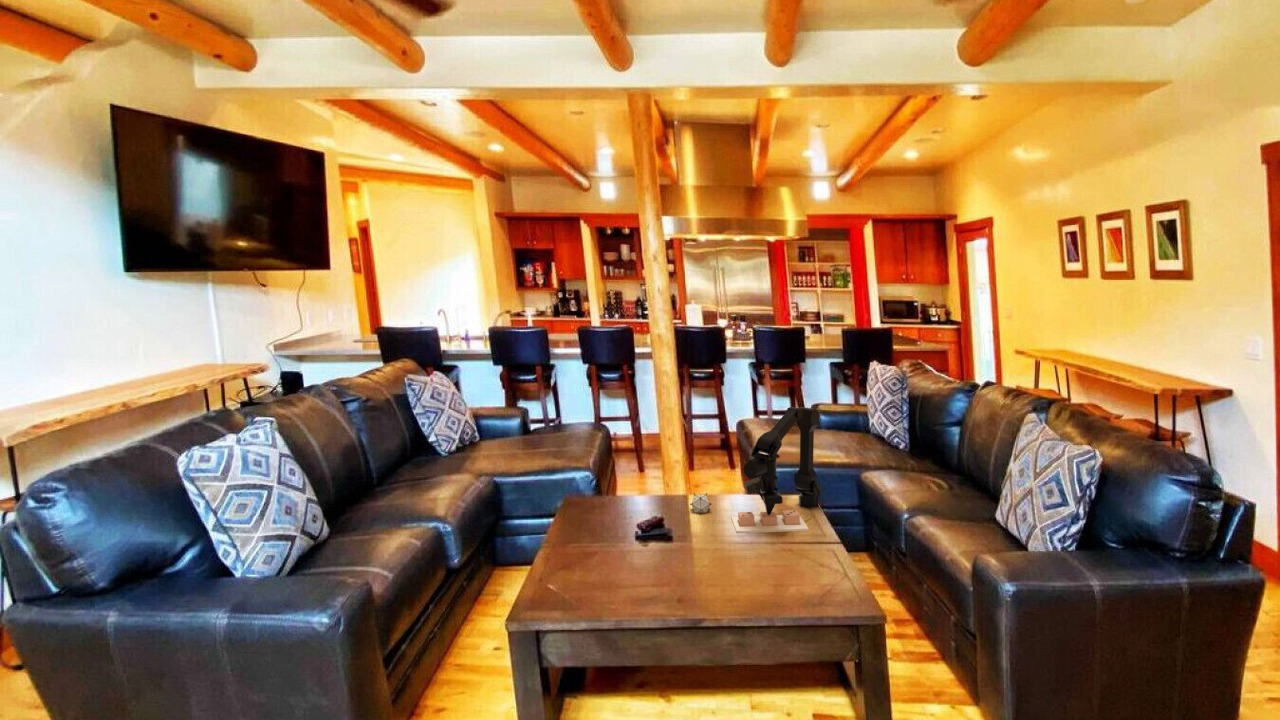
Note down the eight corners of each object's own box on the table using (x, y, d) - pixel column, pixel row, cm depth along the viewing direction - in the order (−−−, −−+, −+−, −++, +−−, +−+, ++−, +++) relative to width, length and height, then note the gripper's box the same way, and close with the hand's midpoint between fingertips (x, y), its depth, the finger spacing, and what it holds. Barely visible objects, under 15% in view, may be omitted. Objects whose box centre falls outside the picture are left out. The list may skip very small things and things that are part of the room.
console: (799, 519, 223) (799, 514, 223) (808, 534, 210) (808, 528, 210) (731, 521, 223) (731, 516, 223) (736, 536, 210) (736, 531, 210)
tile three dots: (796, 520, 219) (796, 509, 218) (799, 526, 214) (799, 515, 213) (782, 521, 219) (782, 510, 218) (785, 526, 214) (785, 515, 213)
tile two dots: (752, 522, 219) (752, 511, 218) (754, 527, 214) (754, 516, 213) (738, 522, 219) (738, 511, 218) (740, 528, 214) (740, 517, 214)
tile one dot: (774, 522, 219) (774, 511, 218) (777, 527, 214) (777, 516, 213) (760, 522, 219) (760, 511, 218) (763, 528, 214) (762, 517, 213)
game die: (696, 523, 233) (681, 500, 235) (713, 511, 236) (699, 489, 238) (702, 519, 225) (687, 496, 227) (720, 507, 227) (705, 484, 230)
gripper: (741, 464, 223) (742, 505, 225) (749, 481, 205) (750, 525, 207) (771, 463, 223) (771, 504, 225) (782, 480, 205) (783, 524, 207)
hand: (768, 514), depth 216 cm, fingers closed, pressing on tile one dot
